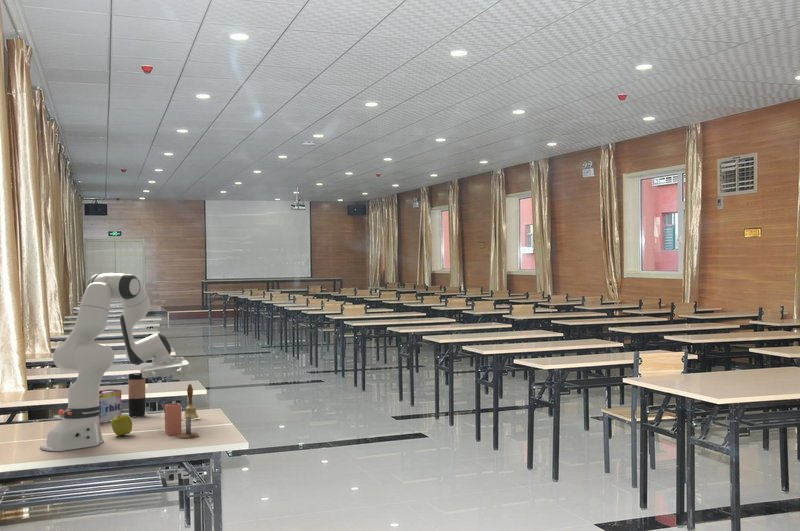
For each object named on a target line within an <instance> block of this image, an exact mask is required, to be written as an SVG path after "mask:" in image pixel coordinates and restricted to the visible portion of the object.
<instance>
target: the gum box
mask: <svg viewBox="0 0 800 531" xmlns="http://www.w3.org/2000/svg"><path fill="white" fill-rule="evenodd" d="M99 406H100V419H99V420H100V424H102V422H103V423H107V422H106V421H108V422H112V421H111V420H113V418H115V417H116V416H118V415H120V414H121V415H122V389H104V390H99Z"/></svg>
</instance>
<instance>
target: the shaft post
mask: <svg viewBox="0 0 800 531" xmlns="http://www.w3.org/2000/svg"><path fill="white" fill-rule="evenodd" d="M199 436H200V435H199V432H193V431H192V420H191V416H187V417H186V421H185V432H182V433H181V434H178V435H177V438H178V439H182V440H186V439H188V438H190V439H195V437H196V438H198V437H199Z"/></svg>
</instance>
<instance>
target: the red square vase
mask: <svg viewBox="0 0 800 531" xmlns="http://www.w3.org/2000/svg"><path fill="white" fill-rule="evenodd" d="M181 418H182V404H180V403H179V402H176V403H165V404H164V434H165V435H166V436H167V435H169V436H176V435H177V434H181V433H183V432H182V420H181ZM177 436H178V435H177Z"/></svg>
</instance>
